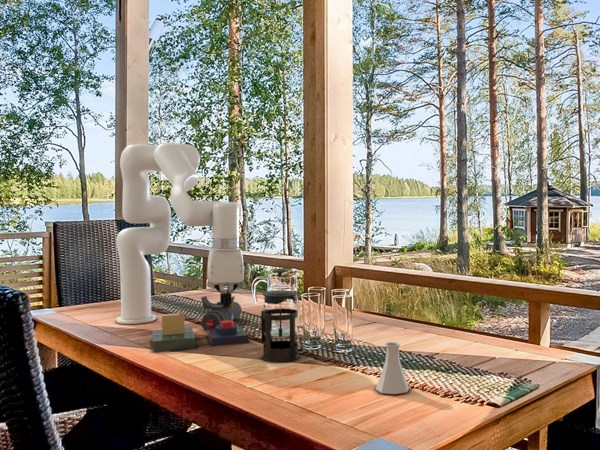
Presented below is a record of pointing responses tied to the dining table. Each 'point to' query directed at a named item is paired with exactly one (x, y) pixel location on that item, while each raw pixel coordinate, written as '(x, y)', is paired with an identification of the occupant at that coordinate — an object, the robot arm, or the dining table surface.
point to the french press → (280, 349)
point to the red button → (226, 323)
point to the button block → (227, 335)
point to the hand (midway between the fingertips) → (225, 306)
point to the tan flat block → (173, 324)
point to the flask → (392, 372)
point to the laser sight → (219, 313)
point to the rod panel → (173, 341)
